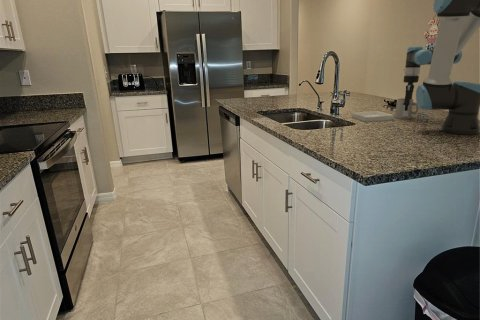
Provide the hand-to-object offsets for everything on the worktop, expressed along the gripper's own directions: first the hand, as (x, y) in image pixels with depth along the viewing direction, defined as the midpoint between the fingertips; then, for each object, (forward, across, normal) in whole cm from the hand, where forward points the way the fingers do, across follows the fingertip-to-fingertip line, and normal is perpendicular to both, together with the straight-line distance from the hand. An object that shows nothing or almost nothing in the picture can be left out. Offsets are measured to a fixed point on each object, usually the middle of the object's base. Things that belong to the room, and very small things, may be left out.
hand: (406, 114), depth 185 cm
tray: (+2, +10, -17) cm, 20 cm away
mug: (+2, 0, 0) cm, 2 cm away
